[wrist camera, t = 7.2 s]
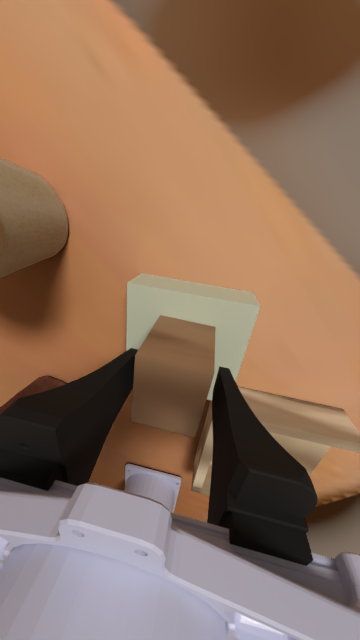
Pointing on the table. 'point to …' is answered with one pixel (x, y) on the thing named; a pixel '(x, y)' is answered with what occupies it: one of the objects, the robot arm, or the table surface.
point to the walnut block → (173, 375)
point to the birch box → (284, 432)
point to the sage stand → (193, 314)
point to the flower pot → (28, 219)
